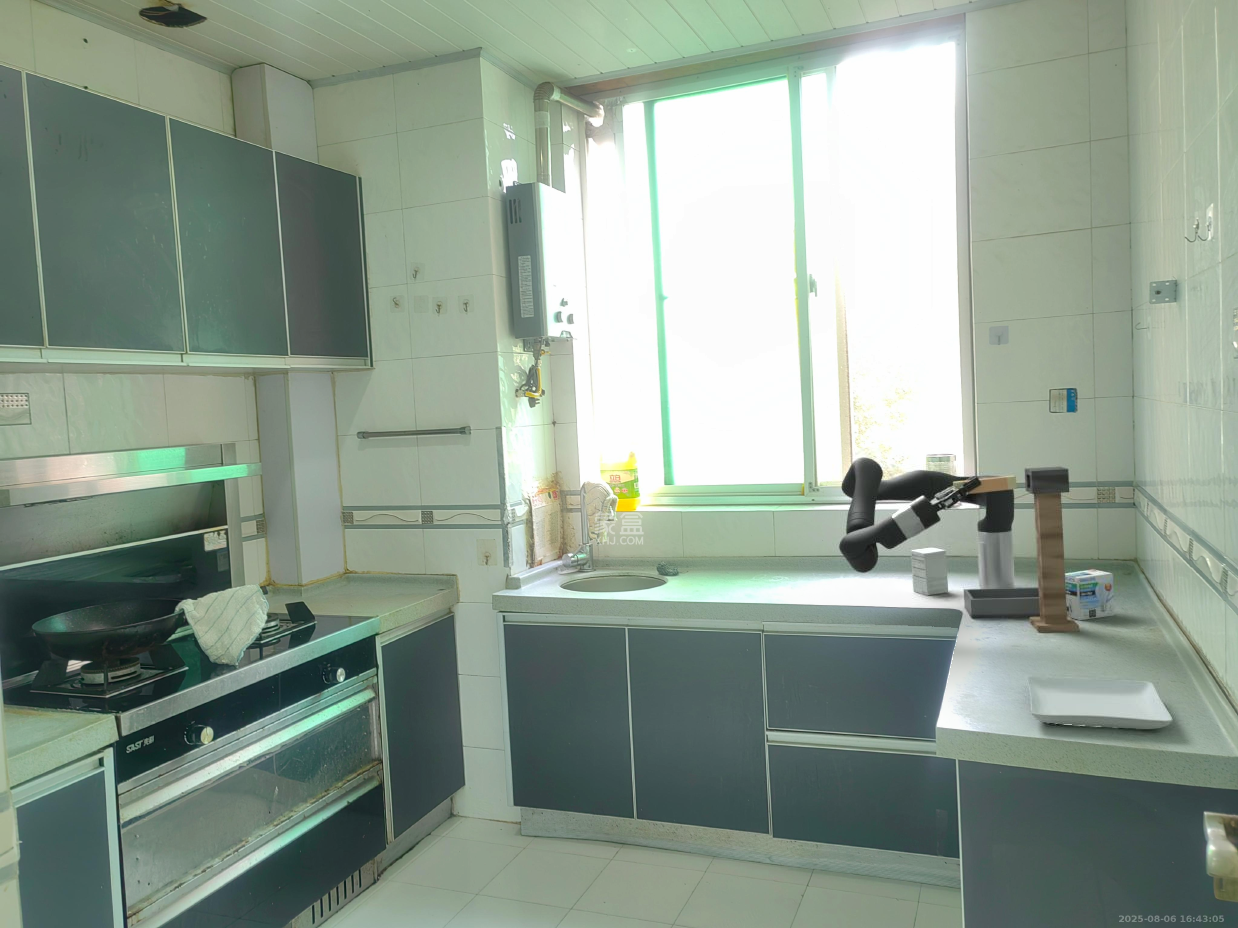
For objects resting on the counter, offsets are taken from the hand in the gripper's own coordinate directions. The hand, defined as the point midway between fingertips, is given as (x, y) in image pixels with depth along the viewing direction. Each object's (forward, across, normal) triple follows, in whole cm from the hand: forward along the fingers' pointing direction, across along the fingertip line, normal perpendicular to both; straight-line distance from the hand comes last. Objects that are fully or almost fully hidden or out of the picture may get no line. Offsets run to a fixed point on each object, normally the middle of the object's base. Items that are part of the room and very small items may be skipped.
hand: (977, 479), depth 219 cm
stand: (-5, 0, -40) cm, 40 cm away
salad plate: (-11, +61, -37) cm, 72 cm away
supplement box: (-26, -44, -28) cm, 58 cm away
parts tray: (-11, -17, -36) cm, 41 cm away
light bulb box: (+4, -12, -45) cm, 47 cm away
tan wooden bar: (0, 0, -3) cm, 3 cm away
